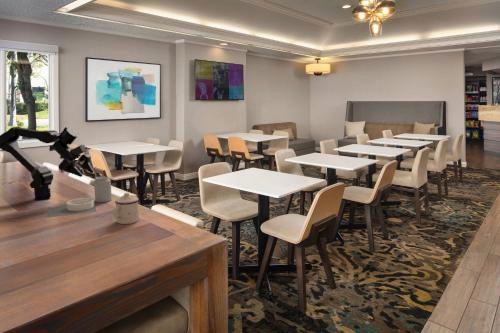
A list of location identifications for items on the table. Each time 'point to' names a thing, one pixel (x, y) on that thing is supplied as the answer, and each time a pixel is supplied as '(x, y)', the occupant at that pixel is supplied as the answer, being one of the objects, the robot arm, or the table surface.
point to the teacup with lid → (126, 209)
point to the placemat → (66, 211)
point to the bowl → (80, 204)
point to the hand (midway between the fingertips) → (87, 174)
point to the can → (102, 189)
